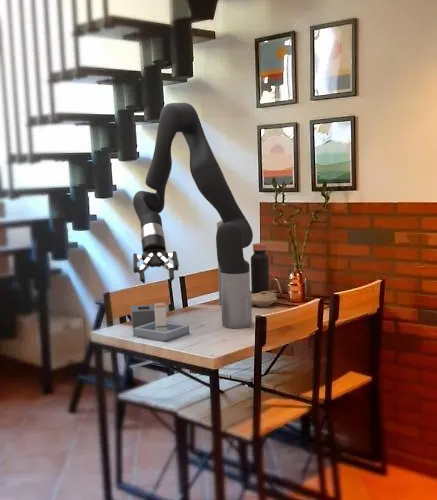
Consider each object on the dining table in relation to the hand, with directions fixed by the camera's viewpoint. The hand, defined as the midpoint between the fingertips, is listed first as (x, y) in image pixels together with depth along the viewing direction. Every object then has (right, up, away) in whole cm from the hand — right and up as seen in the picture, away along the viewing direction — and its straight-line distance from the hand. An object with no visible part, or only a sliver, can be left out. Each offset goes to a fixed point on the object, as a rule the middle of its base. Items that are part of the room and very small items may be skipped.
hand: (157, 281), depth 215 cm
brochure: (+23, -10, +41) cm, 48 cm away
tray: (+2, -16, -4) cm, 17 cm away
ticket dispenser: (-5, -15, +9) cm, 18 cm away
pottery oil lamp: (+34, -11, +32) cm, 48 cm away
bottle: (+35, -8, +49) cm, 61 cm away
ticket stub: (+2, -16, -5) cm, 16 cm away
